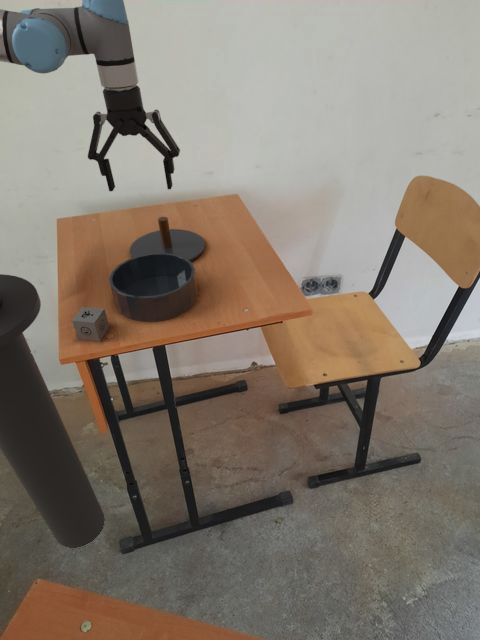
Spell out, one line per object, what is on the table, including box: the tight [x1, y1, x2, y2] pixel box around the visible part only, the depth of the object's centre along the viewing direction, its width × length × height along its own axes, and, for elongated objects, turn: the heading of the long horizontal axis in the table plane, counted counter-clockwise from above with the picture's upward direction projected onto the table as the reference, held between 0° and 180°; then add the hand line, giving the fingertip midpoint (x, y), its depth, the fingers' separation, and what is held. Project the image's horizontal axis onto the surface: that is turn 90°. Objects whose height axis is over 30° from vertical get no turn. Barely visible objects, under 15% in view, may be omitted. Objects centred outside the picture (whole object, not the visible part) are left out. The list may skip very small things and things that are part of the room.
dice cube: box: [71, 306, 110, 342], centre depth 101 cm, size 5×5×5 cm
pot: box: [108, 253, 199, 323], centre depth 111 cm, size 19×19×6 cm
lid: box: [129, 216, 206, 262], centre depth 127 cm, size 20×20×9 cm
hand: (141, 188), depth 111 cm, fingers open, 13 cm apart
